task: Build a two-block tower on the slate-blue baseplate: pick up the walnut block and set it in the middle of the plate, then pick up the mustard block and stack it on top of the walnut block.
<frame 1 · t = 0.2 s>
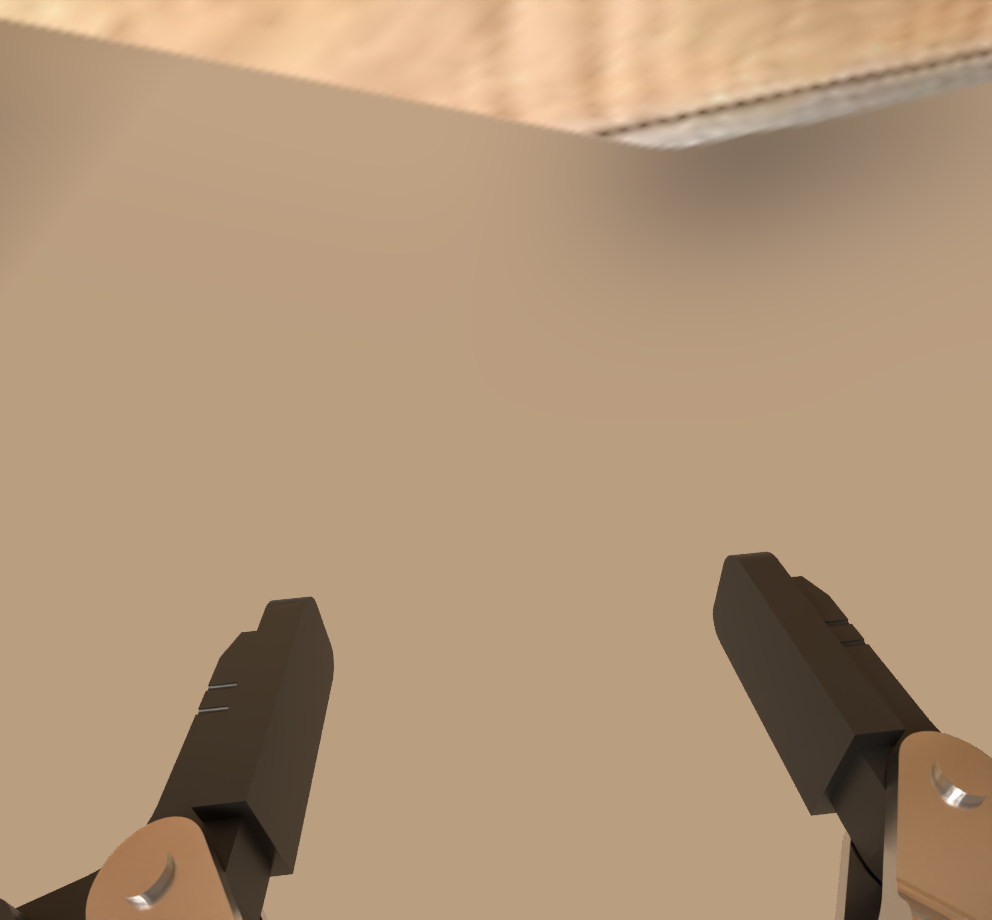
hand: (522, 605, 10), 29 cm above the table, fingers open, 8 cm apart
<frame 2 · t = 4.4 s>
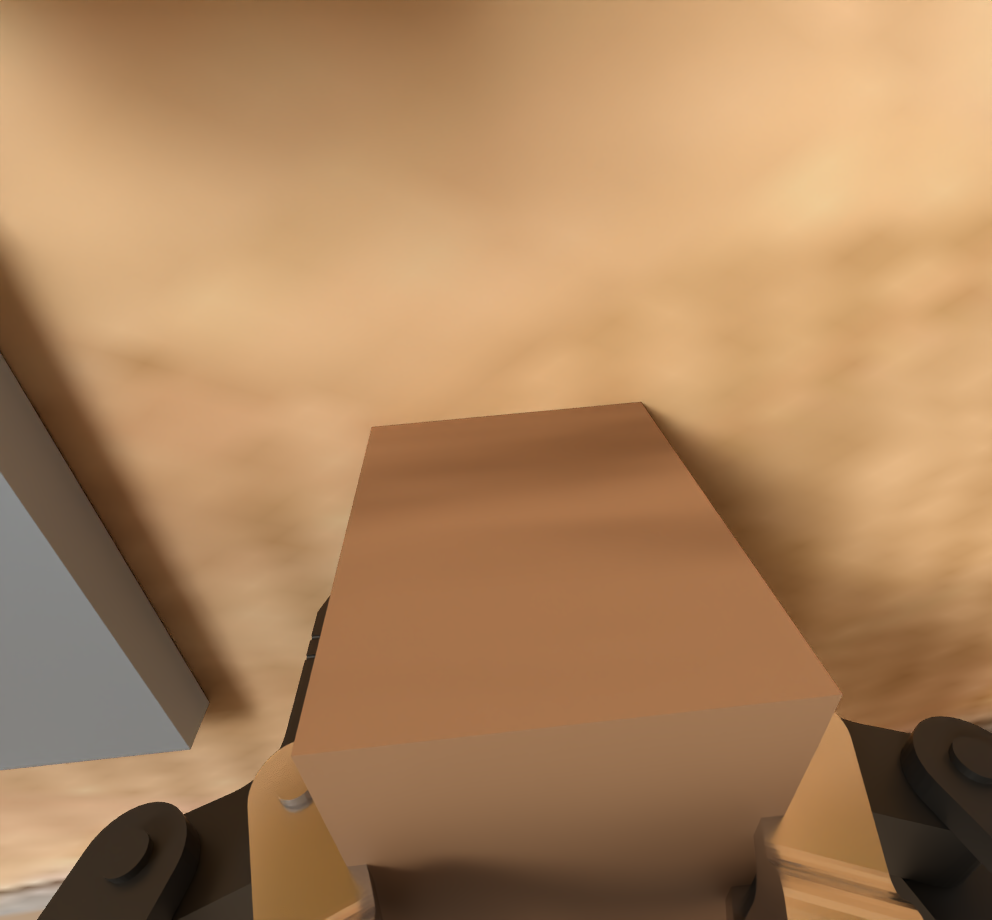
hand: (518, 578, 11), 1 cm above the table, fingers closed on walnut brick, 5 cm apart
walnut brick: (515, 555, 12), on the table, touching gripper
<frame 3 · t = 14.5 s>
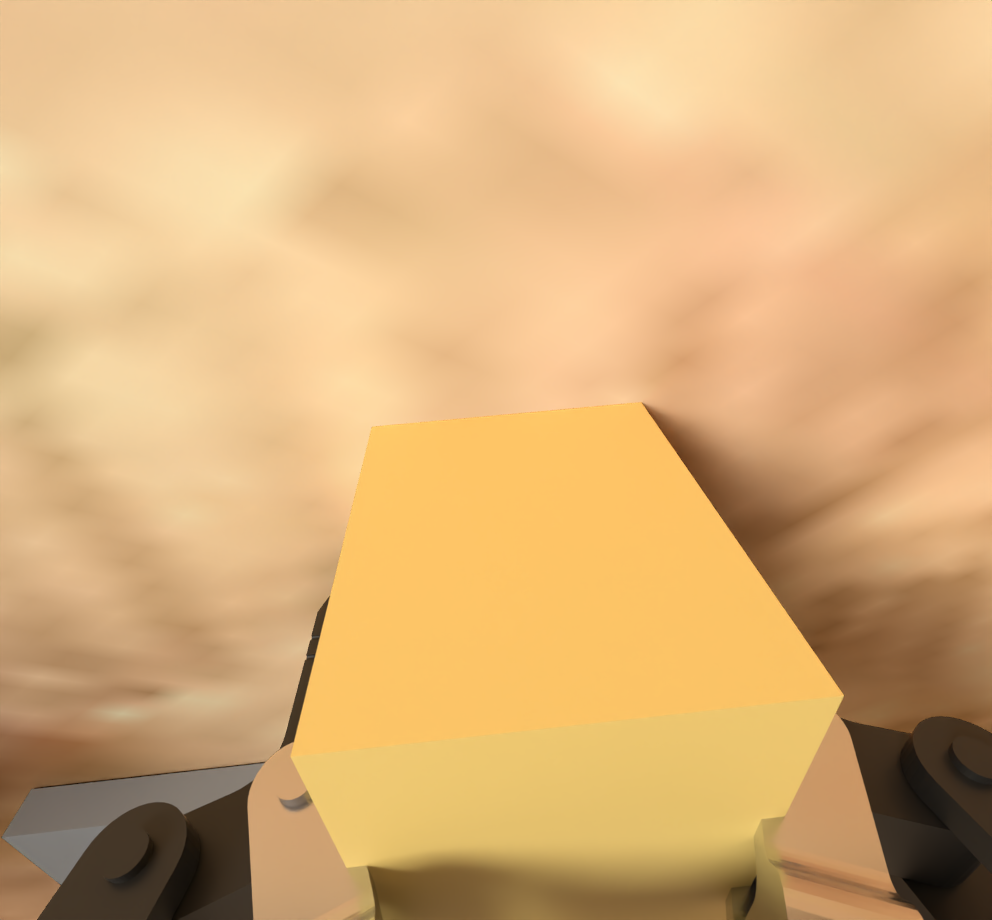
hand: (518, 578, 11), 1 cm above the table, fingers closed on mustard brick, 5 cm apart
slate baseplate: (301, 856, 18), on the table
mustard brick: (515, 555, 12), on the table, touching gripper
when the fingers open (9 cm above the table, at t = 19.8 s): mustard brick drops 1 cm, resting on walnut brick.
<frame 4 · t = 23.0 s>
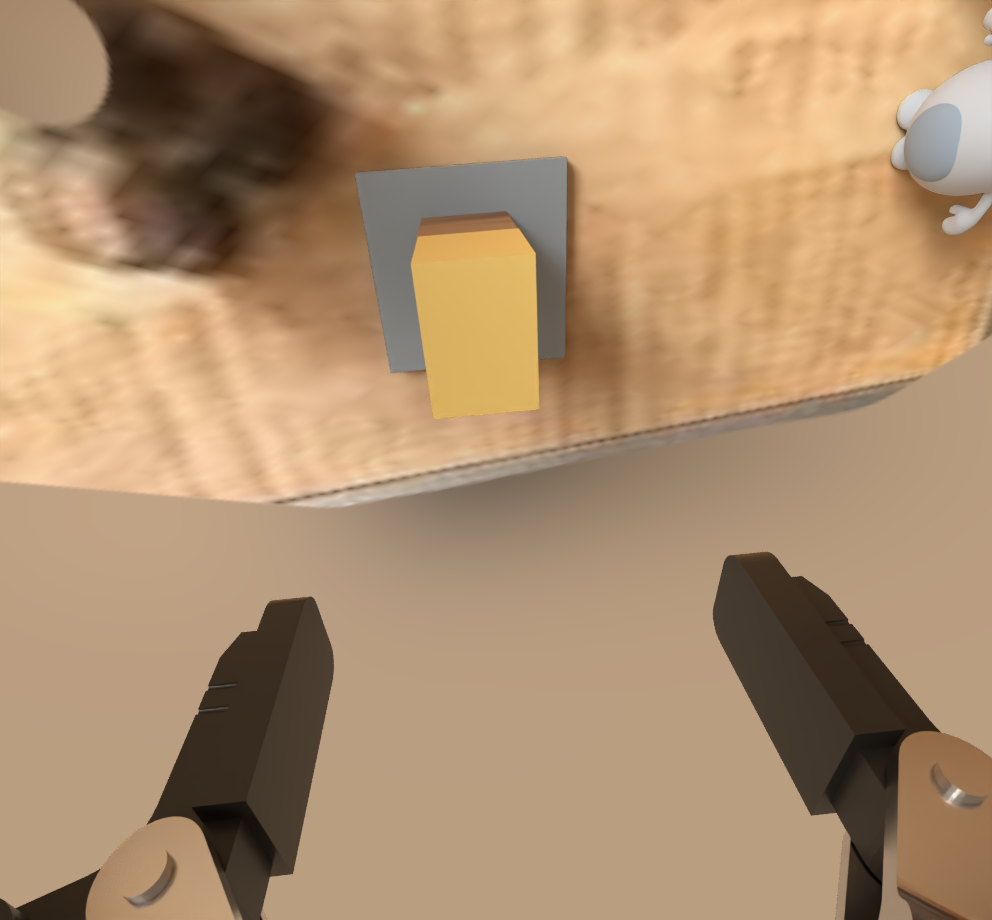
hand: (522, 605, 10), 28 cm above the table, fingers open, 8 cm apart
slate baseplate: (470, 270, 34), on the table
walnut brick: (469, 275, 33), point 1 cm above the table, touching mustard brick, slate baseplate
mustard brick: (474, 303, 28), point 7 cm above the table, touching walnut brick
toy figure: (908, 129, 32), on the table
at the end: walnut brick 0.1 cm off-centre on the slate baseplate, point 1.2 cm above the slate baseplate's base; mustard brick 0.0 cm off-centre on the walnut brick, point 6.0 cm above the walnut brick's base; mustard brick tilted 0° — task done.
